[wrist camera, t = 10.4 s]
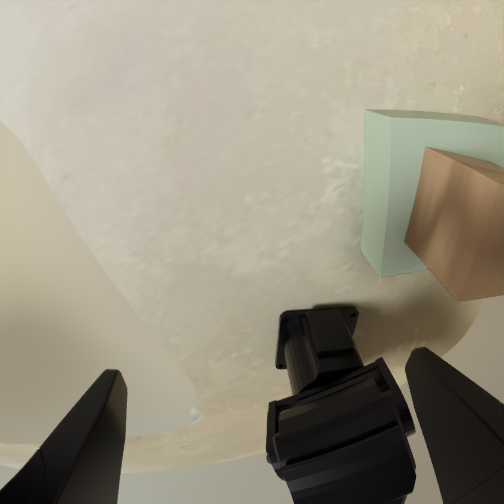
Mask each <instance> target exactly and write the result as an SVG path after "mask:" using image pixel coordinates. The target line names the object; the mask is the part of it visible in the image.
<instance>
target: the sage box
mask: <svg viewBox="0 0 504 504" xmlns="http://www.w3.org/2000/svg"><path fill="white" fill-rule="evenodd" d="M425 147H429V148H434V149H439V150H444V151H448V152H453V153H457V154H461V155H465V156H469V157H473V158H477V159H481V160H485V161H489V162H492V163H494V164H496V165H498V166H500V167H502V168H504V125H501V124H498V123H495V122H492V121H489V120H486V119H483V118H479V117H474V116H465V115H456V114H446V113H435V112H421V111H402V110H364V194H363V217H362V233H361V247H360V251H361V252H362V254H363V255H364V256H365V258H366V259H367V261H368V262H369V263H370V265H371V266H372V268H373V269H374V271H375V272H376V274H377V275H378V276H379V278H383V277H389V276H394V275H400V274H405V273H410V272H415V271H421V270H426V269H428V268H427V267H426V265H425V264H424V263H423V262H422V261H421V260H420V259H419V258H418V257H417V256H416V254H415V253H414V252H413V251H412V250H411V249H410V248H409V247H408V246H407V245H406V244H405V243H404V240H405V236H406V232H407V228H408V225H409V221H410V217H411V213H412V209H413V204H414V200H415V196H416V191H417V187H418V182H419V177H420V172H421V167H422V162H423V157H424V151H425Z"/></svg>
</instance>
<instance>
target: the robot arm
mask: <svg viewBox="0 0 504 504" xmlns="http://www.w3.org/2000/svg"><path fill="white" fill-rule="evenodd" d="M352 313H353V314H352ZM358 315H359V312H358V310H357V308H356V307H347V308H336V309H324V310H311V311H296V312H285V313H282V314H281V315H280V317H279V328H278V339H277V350H276V360H275V365H276V368H277V369H287V371H288V375H289V380H290V385H291V389H292V394H293V396H290V397H287V398H284V399H281V400H278V401H276V400H275V401H272V402H269V408H268V415H267V437H266V452H267V456H266V458H267V461H268V463H270V464H271V465H272V466H273V468H274V470H275V472H276V474H277V475H278V476H279V478H280V479H282V480H284V481H286V483H287V485H288V488H289V490H290V492H291V495H292V498H293V501H294V504H404V503H405V500H406V497H407V495H408V494H410V493H412V492H413V489H414V485H415V480H416V473H415V469H416V465H415V461H414V458H413V455H412V452H411V449H410V446H409V443H408V440H407V437H408V436H410V435H413V434H415V432H416V431H415V426H414V423H413V419H412V416H411V413H410V411H409V408H408V405H407V403H406V401H405V399H404V396H403V394H402V392H401V390H400V388H399V386H398V385H397V383H396V381H395V379H394V377H393V376H392V374H391V372H390V370H389V368H388V367H387V365H386V363H385V361H384V360H383V358H382V357H381V358H379V359H376V360H375V362H373V363H371V364H368V365H366V366H364V365H363V362H362V360H361V358H360V355H359V353H358V351H357V348H356V346H355V342H354V340H353V338H352V336H353V333H354V329H355V326H356V323H357V319H358ZM285 318H288V319H285ZM405 372H406V376H407V380H408V384H409V388H410V392H411V396H412V401H413V405H414V409H415V412H416V415H417V418H418V421H419V424H420V427H421V429H422V433H423V436H424V439H425V442H426V445H427V448H428V451H429V455H430V458H431V461H432V464H433V468H434V471H435V475H436V478H437V482H438V485H439V488H440V493H441V496H442V500H443V504H504V404H503V403H500V401H499V400H497V399H496V398H495V397H493V396H492V395H491V394H489V393H488V392H487V391H485V390H484V389H483V388H481V387H480V386H479V385H477V384H476V383H474V382H473V381H472V380H470V379H469V378H468V377H466V376H465V375H464V374H462V373H461V372H459V371H458V370H457V369H455V368H454V367H452V366H451V365H450V364H448V363H447V362H446V361H444V360H443V359H442V358H440V357H439V356H437V355H436V354H435V353H433V352H432V351H430V350H429V349H428V348H426V347H420V348H415V349H414V350H413V351H412V353H411V355H410V357H409V359H408V361H407V363H406V366H405ZM126 409H127V386H126V384H125V381H124V379H123V377H122V374H121V372H120V371H119V370H117V369H106V370H105V371H104V372H103V373H102V374H101V375H100V376H99V377H98V378H97V380H96V381H95V382H94V383H93V384H92V385H91V387H90V388H89V389H88V390H87V391H86V392H85V394H84V395H83V396H82V397H81V398H80V400H79V401H78V402H77V403H76V404H75V406H74V407H73V408H72V409H71V410H70V411H69V412H68V414H67V415H66V416H65V417H64V418H63V420H62V421H61V422H60V423H59V424H58V426H57V427H56V428H55V429H54V431H53V432H52V433H51V434H50V435H49V437H48V438H47V439H46V440H45V441H44V443H43V444H42V445H41V446H40V449H38V450H37V451H36V452H35V453H34V455H33V456H32V457H31V458H30V459H29V461H28V462H27V463H26V464H25V465H24V466H23V468H22V469H21V470H20V471H19V472H18V473H17V474H16V475H15V476H14V477H13V478H12V479H11V480H10V481H9V482H8V483H7V484H6V485H5V486H4V487H3V488H2V489H1V490H0V504H117V499H118V490H119V480H120V473H121V465H122V458H123V451H124V444H125V433H126Z"/></svg>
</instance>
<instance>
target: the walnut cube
mask: <svg viewBox="0 0 504 504" xmlns="http://www.w3.org/2000/svg"><path fill="white" fill-rule="evenodd" d="M404 243H405V244H406V245H407V246H408V247H409V248H410V249H411V250H412V251H413V252H414V253H415V254H416V256H417V257H418V258H419V259H420V260H421V261H422V262H423V263H424V264H425V265H426V267H427V268H428V269H429V270H430V271H431V272H432V273H433V274H434V276H435V277H436V278H437V279H438V280H439V281H440V282H441V284H442V285H443V286H444V287H445V288H446V289H447V291H448V292H449V293H450V294H451V295H452V297H453V298H454V299H455V300H456V301H465V300H473V299H480V298H488V297H494V296H500V295H504V168H502V167H500V166H498V165H496V164H494V163H492V162H489V161H485V160H481V159H477V158H473V157H469V156H465V155H461V154H457V153H453V152H448V151H444V150H439V149H434V148H429V147H425V151H424V157H423V162H422V167H421V172H420V177H419V182H418V187H417V191H416V196H415V200H414V204H413V209H412V213H411V217H410V221H409V225H408V228H407V232H406V236H405V240H404Z"/></svg>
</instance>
